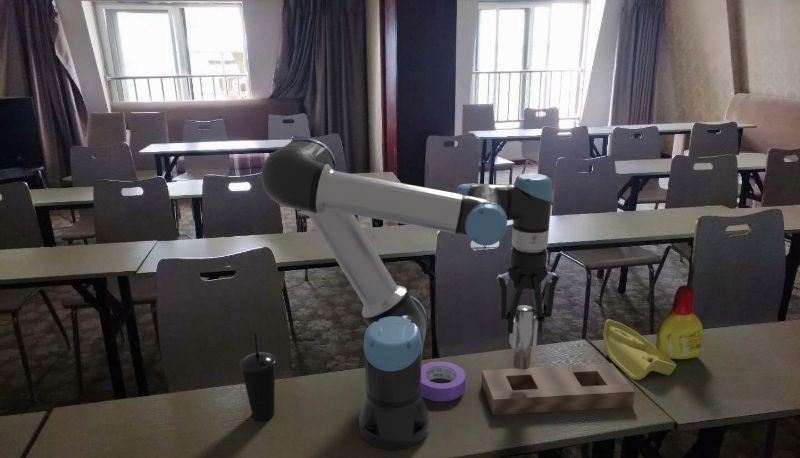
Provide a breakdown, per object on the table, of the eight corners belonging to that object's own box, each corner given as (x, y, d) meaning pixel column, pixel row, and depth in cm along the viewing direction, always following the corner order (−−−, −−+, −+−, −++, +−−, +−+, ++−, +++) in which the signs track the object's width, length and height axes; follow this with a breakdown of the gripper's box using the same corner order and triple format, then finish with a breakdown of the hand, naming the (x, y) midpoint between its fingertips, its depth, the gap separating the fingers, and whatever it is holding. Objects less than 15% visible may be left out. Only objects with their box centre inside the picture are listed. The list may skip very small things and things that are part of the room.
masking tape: (475, 389, 136) (475, 375, 135) (439, 408, 129) (439, 394, 128) (441, 369, 145) (441, 356, 144) (406, 386, 138) (406, 372, 137)
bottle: (660, 364, 145) (670, 292, 139) (647, 351, 151) (656, 282, 145) (704, 361, 146) (716, 289, 140) (690, 349, 152) (701, 279, 146)
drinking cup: (243, 409, 130) (234, 330, 124) (277, 401, 133) (270, 323, 126) (248, 428, 123) (239, 346, 117) (283, 420, 126) (276, 339, 120)
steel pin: (514, 370, 128) (518, 313, 124) (510, 360, 132) (513, 305, 127) (532, 369, 128) (536, 312, 124) (527, 359, 132) (531, 304, 128)
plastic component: (680, 367, 140) (652, 358, 136) (664, 392, 141) (636, 383, 137) (629, 326, 157) (603, 316, 153) (615, 348, 159) (589, 339, 155)
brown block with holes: (492, 415, 126) (493, 399, 125) (481, 384, 138) (482, 370, 137) (633, 406, 128) (635, 391, 127) (610, 377, 140) (612, 363, 139)
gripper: (494, 254, 117) (489, 355, 124) (574, 251, 118) (565, 351, 125) (486, 242, 124) (481, 338, 131) (562, 240, 125) (554, 335, 133)
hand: (522, 344), depth 128 cm, fingers closed on steel pin, 4 cm apart
